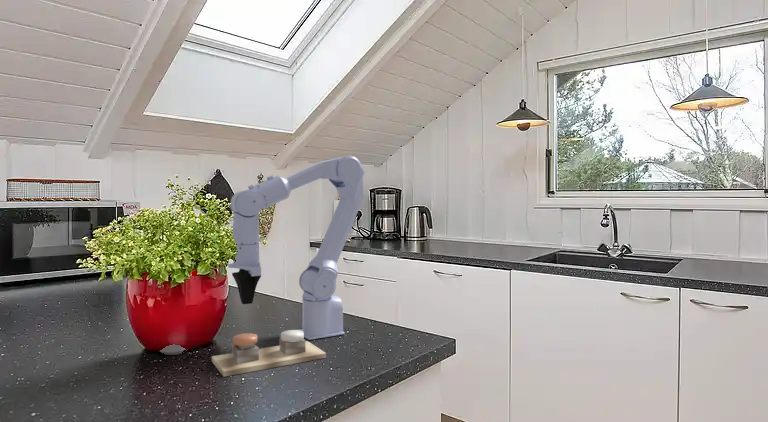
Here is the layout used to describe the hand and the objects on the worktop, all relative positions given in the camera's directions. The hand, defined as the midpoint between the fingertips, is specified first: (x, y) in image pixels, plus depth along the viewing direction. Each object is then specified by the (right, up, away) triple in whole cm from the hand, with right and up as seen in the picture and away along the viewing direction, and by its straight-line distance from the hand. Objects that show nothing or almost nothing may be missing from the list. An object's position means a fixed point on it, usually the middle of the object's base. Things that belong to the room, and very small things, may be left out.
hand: (247, 303), depth 115 cm
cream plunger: (+12, -9, -8) cm, 16 cm away
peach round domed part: (+3, -8, -13) cm, 15 cm away
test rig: (+7, -10, -10) cm, 16 cm away
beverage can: (-15, -10, -5) cm, 18 cm away
